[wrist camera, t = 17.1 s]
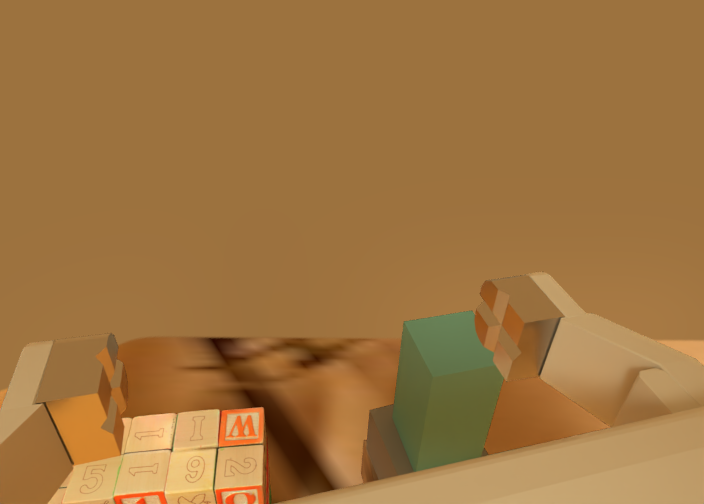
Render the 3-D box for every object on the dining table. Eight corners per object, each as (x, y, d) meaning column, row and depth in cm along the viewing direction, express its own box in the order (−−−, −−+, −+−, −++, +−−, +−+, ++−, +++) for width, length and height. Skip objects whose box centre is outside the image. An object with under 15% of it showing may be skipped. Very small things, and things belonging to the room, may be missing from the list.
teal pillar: (479, 460, 37) (508, 362, 31) (415, 475, 36) (432, 377, 30) (451, 405, 41) (471, 310, 35) (392, 417, 40) (403, 321, 34)
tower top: (481, 501, 40) (494, 463, 37) (398, 528, 38) (404, 491, 35) (440, 427, 45) (449, 390, 42) (366, 448, 43) (369, 410, 40)
